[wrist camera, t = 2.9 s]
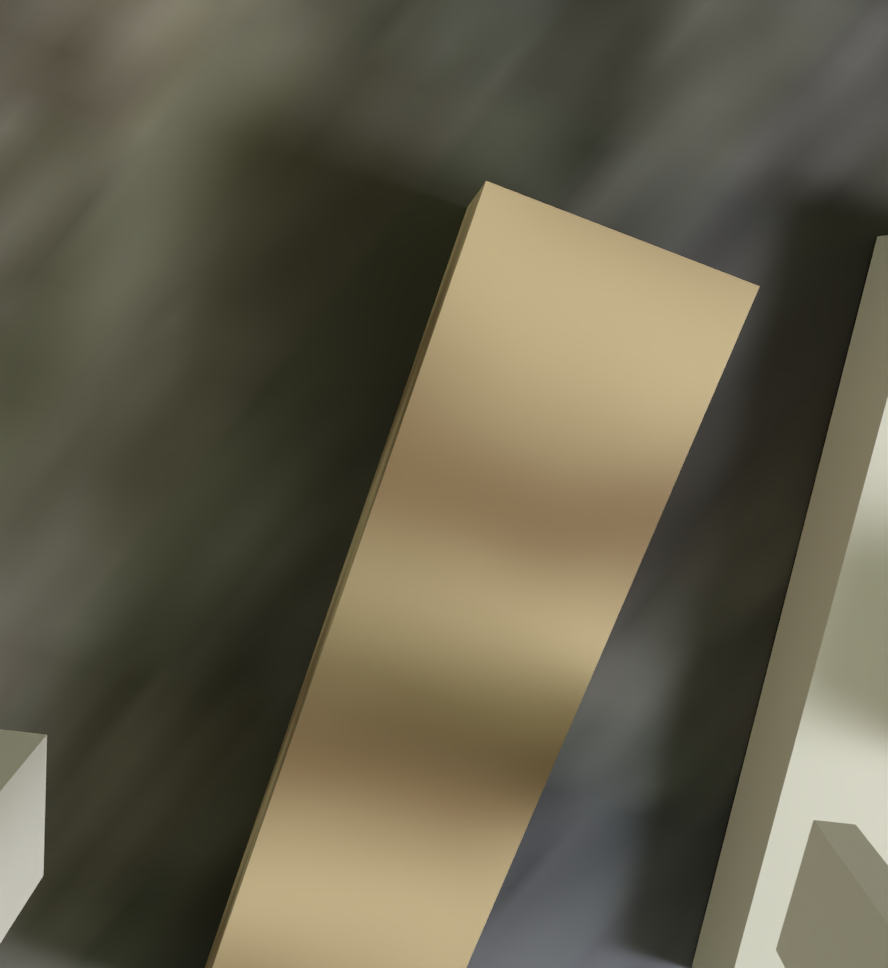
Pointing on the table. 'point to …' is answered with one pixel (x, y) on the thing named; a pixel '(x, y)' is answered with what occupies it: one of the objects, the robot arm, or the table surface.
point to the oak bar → (479, 586)
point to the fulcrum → (819, 671)
